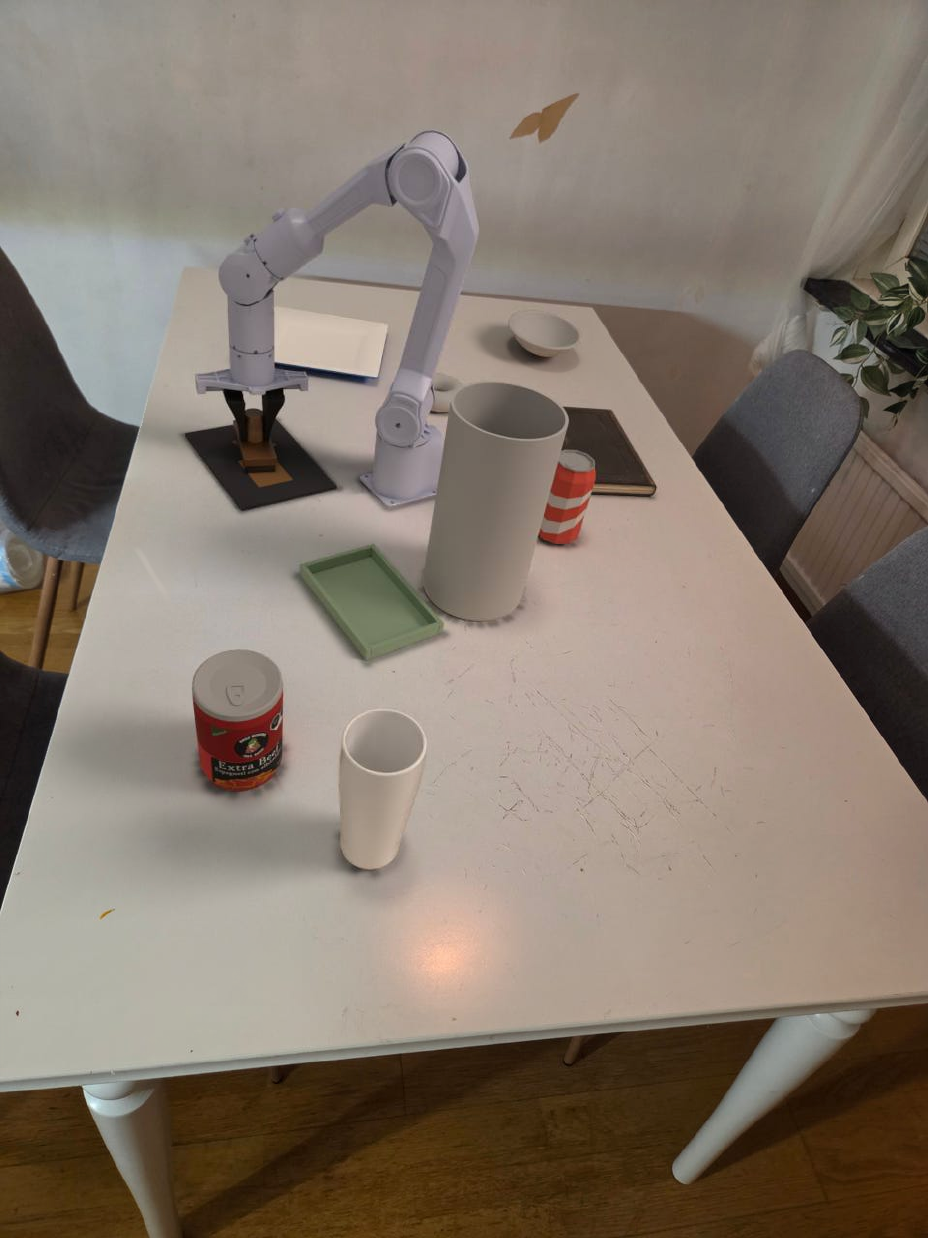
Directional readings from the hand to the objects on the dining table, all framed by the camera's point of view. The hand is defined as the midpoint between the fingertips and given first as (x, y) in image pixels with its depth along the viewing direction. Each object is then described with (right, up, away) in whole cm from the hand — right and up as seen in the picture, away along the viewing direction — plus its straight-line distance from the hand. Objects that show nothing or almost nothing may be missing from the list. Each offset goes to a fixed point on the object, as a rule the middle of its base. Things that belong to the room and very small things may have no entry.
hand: (254, 436), depth 112 cm
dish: (+44, +26, +44) cm, 68 cm away
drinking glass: (+21, -46, -41) cm, 65 cm away
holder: (+18, -24, -17) cm, 35 cm away
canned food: (+8, -39, -36) cm, 54 cm away
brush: (0, -2, +2) cm, 3 cm away
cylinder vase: (+31, -22, -12) cm, 40 cm away
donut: (+25, +11, +23) cm, 36 cm away
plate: (+4, +22, +30) cm, 38 cm away
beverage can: (+42, -14, 0) cm, 45 cm away
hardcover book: (+49, +1, +17) cm, 52 cm away
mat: (0, -3, +1) cm, 4 cm away
